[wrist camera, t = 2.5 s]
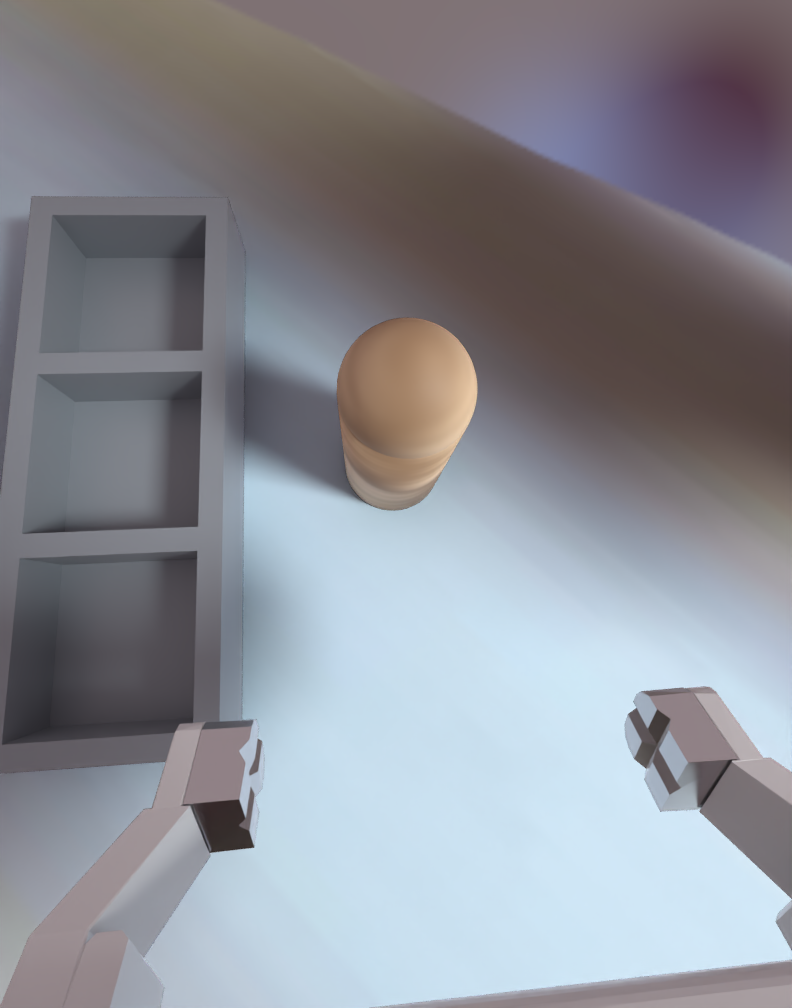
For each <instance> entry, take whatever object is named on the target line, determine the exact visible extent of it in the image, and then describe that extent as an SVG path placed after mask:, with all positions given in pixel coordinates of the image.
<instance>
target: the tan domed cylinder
mask: <svg viewBox="0 0 792 1008" xmlns="http://www.w3.org/2000/svg"><path fill="white" fill-rule="evenodd" d="M476 400H477V378H476V373H475V369H474V366H473V363H472V361H471V358H470V356H469V354H468V353H467V351H466V349H465V348H464V347H463V345H462V344H461V343H460V342H459V340H458V339H457V338H456V337H455V336H454V335H453V334H451V333H450V332H449V331H447V330H446V329H445V328H443V327H441V326H439V325H437V324H435V323H433V322H430V321H427V320H423V319H418V318H396V319H391V320H388V321H385V322H382V323H380V324H378V325H375V326H374V327H372V328H370V329H369V330H367V331H366V332H364V333H363V334H362V335H361V336H360V337H359V338H358V339H357V340H356V341H355V342H354V343H353V344H352V346H351V347H350V349H349V350H348V351H347V353H346V355H345V357H344V359H343V361H342V364H341V367H340V370H339V373H338V379H337V402H338V410H339V418H340V427H341V435H342V443H343V451H344V460H345V468H346V474H347V478H348V481H349V483H350V485H351V487H352V489H353V490H354V491H355V493H356V494H357V495H358V496H359V497H360V498H361V499H362V500H363V501H365V502H366V503H368V504H370V505H371V506H374V507H376V508H379V509H383V510H402V509H406V508H409V507H412V506H414V505H416V504H417V503H419V502H420V501H422V500H423V499H424V498H425V497H426V496H427V495H428V494H429V492H430V491H431V490H432V488H433V486H434V485H435V483H436V481H437V479H438V478H439V476H440V474H441V472H442V470H443V469H444V467H445V465H446V463H447V462H448V460H449V458H450V456H451V455H452V453H453V451H454V449H455V447H456V446H457V444H458V442H459V440H460V439H461V437H462V435H463V433H464V432H465V430H466V428H467V426H468V425H469V423H470V420H471V418H472V416H473V413H474V410H475V406H476Z"/></svg>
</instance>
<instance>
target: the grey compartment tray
mask: <svg viewBox="0 0 792 1008" xmlns="http://www.w3.org/2000/svg"><path fill="white" fill-rule="evenodd" d="M245 252H246V251H245V248H244V245H243V242H242V239H241V236H240V233H239V230H238V227H237V224H236V221H235V218H234V215H233V212H232V209H231V206H230V202H229V199H228V197H40V196H32V198H31V208H30V217H29V227H28V236H27V245H26V255H25V264H24V274H23V283H22V293H21V302H20V312H19V321H18V331H17V340H16V350H15V359H14V369H13V378H12V388H11V397H10V407H9V416H8V426H7V435H6V444H5V454H4V463H3V473H2V482H1V492H0V774H1V773H15V772H29V771H43V770H56V769H70V768H84V767H98V766H112V765H125V764H139V763H153V762H166V759H167V756H168V753H169V749H170V746H171V743H172V739H173V736H174V733H175V731H176V729H177V728H178V726H179V724H183V723H196V722H217V721H233V720H242V645H243V514H244V383H245Z"/></svg>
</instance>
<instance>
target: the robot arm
mask: <svg viewBox="0 0 792 1008" xmlns="http://www.w3.org/2000/svg"><path fill="white" fill-rule="evenodd" d="M633 702H634V704H635V706H636V709H634V710H633V711H632V712H630V713H629V714H628V716H627V719H626V721H625V737H626V740H627V744H628V747H629V749H630V751H631V753H632V756H633V758H634V759H635V760H636V761H637V762H639V763H640V764H641V765H642V766H644V767H645V768H646V772H645V778H644V780H645V782H646V784H647V786H648V788H649V790H650V792H651V794H652V796H653V798H654V800H655V802H656V804H657V806H658V808H659V810H660V812H662V811H678V810H695V809H701V810H700V811H699V812H700V813H701V814H702V815H704V816H705V817H706V818H707V819H708V820H709V821H710V822H711V823H712V824H713V825H714V826H715V827H716V828H717V829H718V830H719V831H720V832H722V833H723V834H724V835H725V836H726V837H727V838H728V839H729V840H730V841H731V842H732V843H733V844H734V845H735V846H736V847H737V848H738V849H740V850H741V851H742V852H743V853H744V854H745V855H746V856H747V857H748V858H749V859H750V860H751V861H752V862H753V863H754V864H755V865H756V866H757V867H759V868H760V869H761V870H762V871H763V872H764V873H765V874H766V875H767V876H768V877H769V878H770V879H771V880H772V881H773V882H774V883H775V884H777V885H778V886H779V887H780V888H781V889H782V890H783V891H784V892H785V893H786V894H787V895H788V896H789V897H790V898H791V899H792V772H791V771H789V770H788V769H786V768H785V767H783V766H782V765H780V764H779V763H778V762H776V761H775V760H773V759H772V758H763V756H762V755H761V754H760V752H759V751H758V749H757V748H756V747H755V745H754V744H753V743H752V741H751V740H750V738H749V737H748V736H747V734H746V733H745V731H744V730H743V729H742V727H741V726H740V724H739V723H738V722H737V720H736V719H735V717H734V716H733V715H732V713H731V712H730V711H729V709H728V708H727V706H726V705H725V704H724V702H723V701H722V699H721V698H720V697H719V695H718V694H717V693H716V691H714V690H713V689H712V688H710V687H704V686H703V687H692V688H673V689H662V690H651V691H641V692H639V693H638V694H636V696H635V699H634V701H633ZM258 733H259V726H258V723H257V719H249V720H233V721H217V722H196V723H183V724H179V726H178V728H177V729H176V731H175V733H174V736H173V739H172V743H171V746H170V749H169V753H168V756H167V759H166V763H165V766H164V769H163V773H162V776H161V779H160V782H159V786H158V789H157V792H156V796H155V799H154V802H153V806H152V808H149V809H143V811H142V812H141V813H140V814H139V815H138V816H137V817H136V818H135V819H134V821H133V822H132V823H131V824H130V825H129V826H128V827H127V828H126V829H125V831H124V832H123V833H122V834H121V835H120V836H119V837H118V838H117V839H116V841H115V842H114V843H113V844H112V845H111V846H110V847H109V848H108V849H107V850H106V852H105V853H104V854H103V855H102V856H101V857H100V858H99V859H98V860H97V862H96V863H95V864H94V865H93V866H92V867H91V868H90V869H89V870H88V872H87V873H86V874H85V875H84V876H83V877H82V878H81V879H80V880H79V882H78V883H77V884H76V885H75V886H74V887H73V888H72V889H71V890H70V891H69V893H68V894H67V895H66V896H65V897H64V898H63V899H62V900H61V901H60V903H59V904H58V905H57V906H56V907H55V908H54V909H53V910H52V911H51V913H50V914H49V915H48V916H47V917H46V918H45V919H44V920H43V921H42V923H41V924H40V925H39V926H38V927H37V928H36V929H35V930H34V931H33V932H32V934H31V935H30V936H29V938H28V940H27V943H26V945H25V947H24V950H23V952H22V955H21V957H20V960H19V962H18V964H17V967H16V969H15V972H14V974H13V976H12V979H11V981H10V984H9V986H8V989H7V991H6V993H5V996H4V998H3V1001H2V1003H1V1005H0V1008H161V1003H162V998H163V993H164V989H165V988H164V986H163V984H162V982H161V980H160V979H159V977H158V976H157V975H156V974H155V972H154V971H153V970H152V968H151V967H150V966H149V964H148V963H147V962H146V960H145V959H144V957H145V955H146V954H147V952H148V950H149V949H150V947H151V946H152V944H153V943H154V941H155V940H156V938H157V937H158V935H159V934H160V932H161V931H162V929H163V928H164V926H165V925H166V923H167V922H168V920H169V918H170V917H171V915H172V914H173V912H174V911H175V909H176V908H177V906H178V905H179V903H180V902H181V900H182V899H183V897H184V896H185V894H186V893H187V891H188V889H189V888H190V886H191V885H192V883H193V882H194V880H195V879H196V877H197V876H198V874H199V873H200V871H201V870H202V868H203V867H204V865H205V864H206V862H207V860H208V859H209V857H210V853H213V852H221V851H230V850H238V849H247V848H254V846H255V839H256V832H257V825H258V817H259V809H258V805H257V801H256V796H257V795H258V794H259V792H260V791H261V790H262V787H263V779H264V761H265V758H264V747H263V743H262V741H261V740H259V739H258ZM776 923H777V925H778V927H779V929H780V930H781V932H782V934H783V936H784V937H785V939H786V941H787V943H788V945H789V946H790V948H791V950H792V900H791V901H790V902H789V903H788V904H787V905H786V906H785V907H784V908H783V909H782V910H781V911H780V912H779V913H778V915H777V919H776ZM371 1008H792V960H785V961H776V962H767V963H759V964H750V965H741V966H732V967H723V968H715V969H706V970H697V971H688V972H679V973H671V974H662V975H653V976H644V977H635V978H627V979H618V980H609V981H600V982H591V983H583V984H574V985H565V986H556V987H547V988H539V989H530V990H521V991H512V992H503V993H495V994H486V995H477V996H468V997H459V998H451V999H442V1000H433V1001H424V1002H415V1003H407V1004H398V1005H389V1006H380V1007H371Z"/></svg>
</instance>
